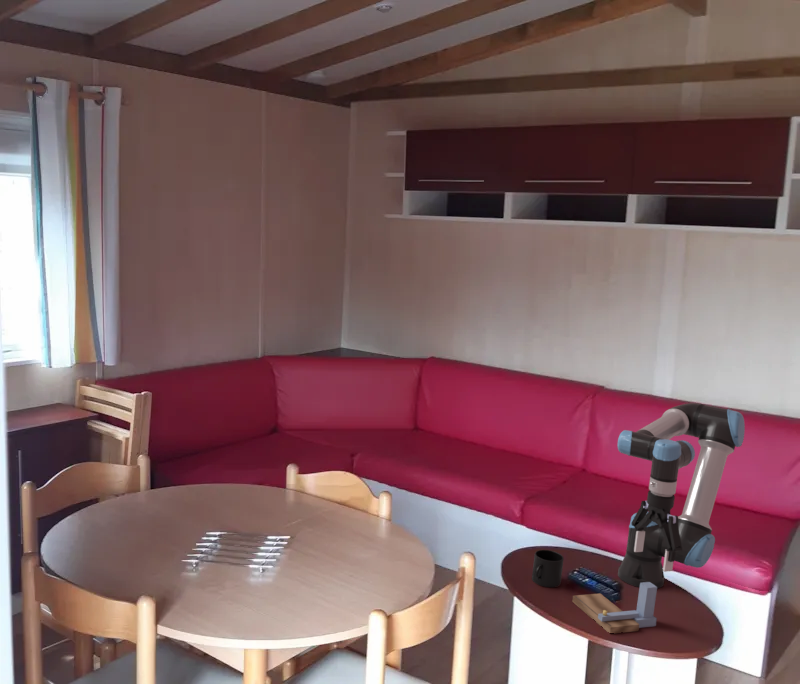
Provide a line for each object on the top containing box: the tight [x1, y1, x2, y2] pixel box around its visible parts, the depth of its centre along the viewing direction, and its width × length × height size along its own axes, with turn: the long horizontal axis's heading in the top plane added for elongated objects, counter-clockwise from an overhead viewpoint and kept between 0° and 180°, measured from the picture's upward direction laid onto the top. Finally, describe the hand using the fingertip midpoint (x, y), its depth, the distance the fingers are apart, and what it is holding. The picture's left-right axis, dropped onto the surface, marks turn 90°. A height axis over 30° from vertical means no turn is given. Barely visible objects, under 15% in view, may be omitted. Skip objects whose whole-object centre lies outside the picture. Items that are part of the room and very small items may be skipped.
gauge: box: [598, 582, 658, 629], centre depth 230 cm, size 18×5×12 cm, turn 110°
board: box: [572, 592, 640, 634], centre depth 235 cm, size 10×20×2 cm, turn 20°
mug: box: [531, 549, 565, 588], centre depth 254 cm, size 9×12×9 cm
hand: (652, 561), depth 230 cm, fingers open, 13 cm apart
